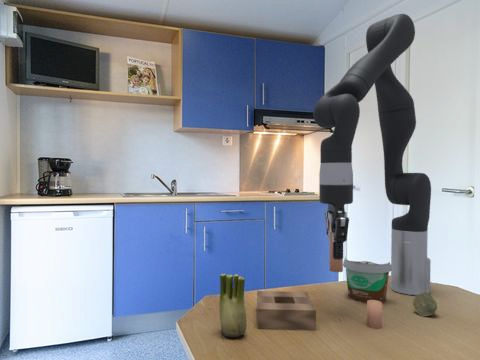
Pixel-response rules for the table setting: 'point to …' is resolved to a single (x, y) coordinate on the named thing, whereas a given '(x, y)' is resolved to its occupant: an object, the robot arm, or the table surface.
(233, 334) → the fennel bulb
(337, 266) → the long dowel
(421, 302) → the lime
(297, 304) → the walnut block
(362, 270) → the food container
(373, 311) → the short dowel
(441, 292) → the table surface
